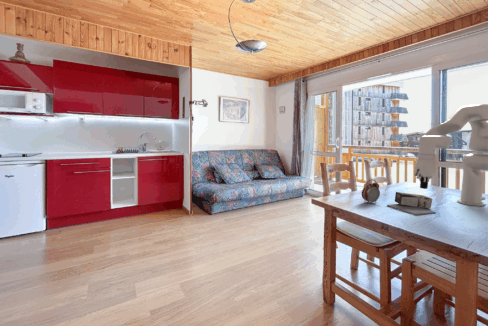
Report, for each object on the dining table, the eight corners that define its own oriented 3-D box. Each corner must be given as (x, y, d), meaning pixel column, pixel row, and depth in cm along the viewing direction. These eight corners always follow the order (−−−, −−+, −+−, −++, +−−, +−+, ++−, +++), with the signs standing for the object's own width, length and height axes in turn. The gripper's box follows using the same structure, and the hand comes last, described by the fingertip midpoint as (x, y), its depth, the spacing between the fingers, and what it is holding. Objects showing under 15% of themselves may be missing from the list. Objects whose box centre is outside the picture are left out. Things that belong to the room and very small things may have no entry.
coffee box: (433, 198, 134) (402, 194, 138) (431, 209, 135) (400, 204, 138) (424, 195, 143) (395, 191, 146) (422, 205, 144) (393, 201, 147)
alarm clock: (366, 204, 145) (367, 180, 144) (360, 202, 150) (361, 179, 148) (380, 203, 148) (381, 180, 147) (374, 201, 153) (375, 178, 151)
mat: (405, 204, 145) (405, 203, 145) (435, 213, 128) (435, 212, 128) (387, 206, 142) (387, 204, 141) (415, 215, 124) (415, 214, 124)
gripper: (429, 156, 139) (426, 186, 141) (409, 157, 135) (407, 187, 137) (442, 157, 132) (440, 189, 134) (422, 158, 128) (420, 190, 130)
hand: (423, 188), depth 136 cm, fingers closed
